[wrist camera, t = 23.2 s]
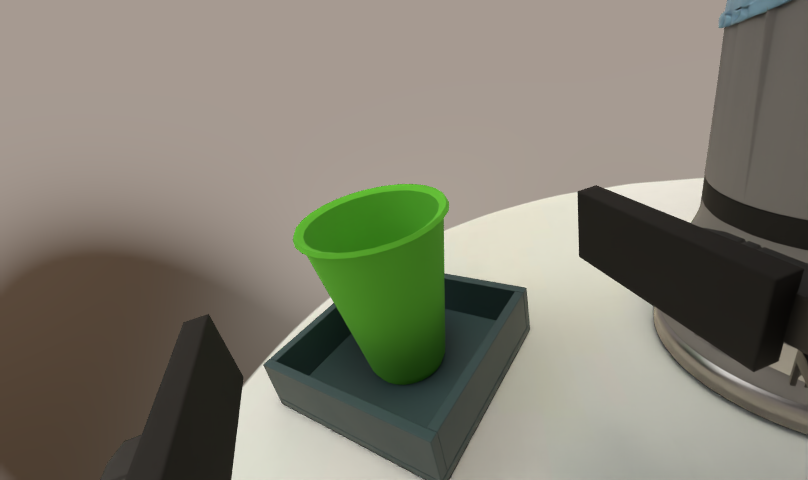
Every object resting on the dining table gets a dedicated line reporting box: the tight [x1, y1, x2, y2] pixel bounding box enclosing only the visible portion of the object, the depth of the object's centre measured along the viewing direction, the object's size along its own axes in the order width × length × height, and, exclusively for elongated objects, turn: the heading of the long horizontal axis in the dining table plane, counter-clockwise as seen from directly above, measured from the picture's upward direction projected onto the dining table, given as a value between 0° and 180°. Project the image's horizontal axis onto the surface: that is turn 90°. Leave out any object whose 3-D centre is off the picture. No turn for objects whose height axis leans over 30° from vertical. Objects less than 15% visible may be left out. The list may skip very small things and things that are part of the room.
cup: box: [293, 184, 449, 385], centre depth 26 cm, size 9×9×11 cm
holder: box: [264, 274, 530, 480], centre depth 27 cm, size 13×13×4 cm
